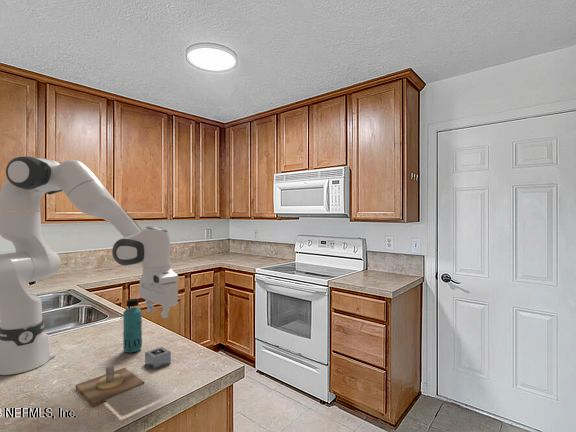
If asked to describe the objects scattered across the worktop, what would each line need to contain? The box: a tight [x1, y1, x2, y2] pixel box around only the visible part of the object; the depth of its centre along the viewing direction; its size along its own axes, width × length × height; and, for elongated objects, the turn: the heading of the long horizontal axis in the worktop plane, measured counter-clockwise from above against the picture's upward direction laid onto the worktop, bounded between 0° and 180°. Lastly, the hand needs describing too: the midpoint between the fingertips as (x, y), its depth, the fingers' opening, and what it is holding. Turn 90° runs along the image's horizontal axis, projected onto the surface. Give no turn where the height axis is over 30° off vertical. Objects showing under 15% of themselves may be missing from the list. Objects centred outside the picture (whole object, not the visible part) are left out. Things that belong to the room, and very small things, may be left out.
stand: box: [144, 350, 170, 370], centre depth 110 cm, size 8×8×5 cm
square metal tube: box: [144, 346, 172, 370], centre depth 110 cm, size 6×6×4 cm
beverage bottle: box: [122, 298, 143, 353], centre depth 121 cm, size 6×7×20 cm
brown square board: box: [75, 365, 145, 408], centre depth 97 cm, size 14×14×6 cm
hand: (157, 314), depth 110 cm, fingers open, 8 cm apart
